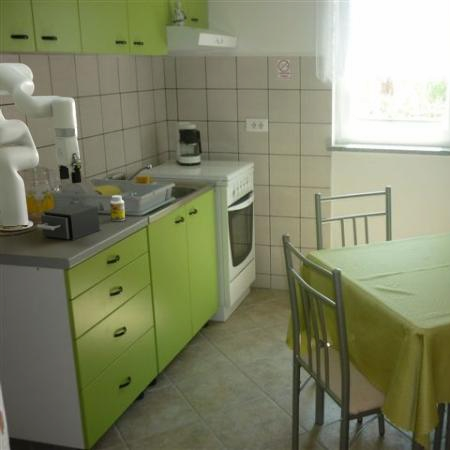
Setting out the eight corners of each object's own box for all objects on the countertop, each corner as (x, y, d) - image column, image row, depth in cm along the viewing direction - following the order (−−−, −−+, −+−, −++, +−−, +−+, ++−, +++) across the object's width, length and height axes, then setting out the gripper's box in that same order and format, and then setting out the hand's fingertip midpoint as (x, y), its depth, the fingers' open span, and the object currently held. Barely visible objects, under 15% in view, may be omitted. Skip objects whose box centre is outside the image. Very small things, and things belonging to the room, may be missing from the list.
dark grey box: (73, 240, 216) (70, 214, 214) (46, 236, 220) (43, 211, 218) (99, 230, 229) (97, 206, 227) (74, 226, 234) (71, 203, 231)
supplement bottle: (108, 220, 243) (106, 196, 241) (118, 217, 248) (116, 194, 245) (118, 222, 241) (116, 198, 238) (128, 219, 245) (126, 195, 243)
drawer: (57, 242, 210) (55, 221, 208) (33, 238, 214) (31, 218, 212) (92, 230, 226) (90, 210, 224) (69, 226, 230) (67, 207, 228)
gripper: (45, 131, 209) (50, 178, 213) (66, 136, 197) (71, 185, 201) (66, 130, 214) (70, 176, 218) (87, 134, 202) (91, 183, 207)
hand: (70, 180), depth 210 cm, fingers open, 9 cm apart
